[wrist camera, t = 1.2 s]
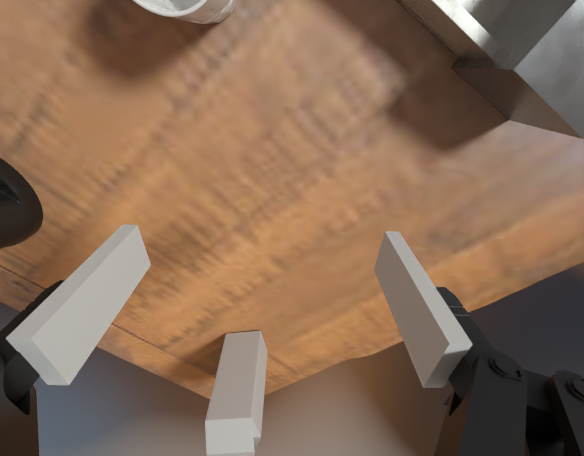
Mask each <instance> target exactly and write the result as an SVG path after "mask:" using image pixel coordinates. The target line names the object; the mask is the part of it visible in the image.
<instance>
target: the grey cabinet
mask: <svg viewBox="0 0 584 456" xmlns="http://www.w3.org/2000/svg"><path fill="white" fill-rule="evenodd" d="M397 1H398V2H399V3H400V4H401V5H402V6H403V7H404V8H405V9H406V10H407V11H409V12H410V13H411V14H412V15H413V16H414V17H415V18H416V19H417V20H418V21H419V22H420V23H422V24H423V25H424V26H425V27H426V28H427V29H428V30H429V31H430V32H431V33H432V34H433V35H435V36H436V37H437V38H438V39H439V40H440V41H441V42H442V43H443V44H444V45H445V46H446V47H447V48H449V49H450V50H451V51H452V52H453V53H454V54H455V55H456V56H457V57H458V58H459V59H458V61H457V62H456V63H455V64H454V66H453V67H452V69H453V70H454V71H455V72H457V73H458V74H459V75H460V76H461V77H462V78H463V79H464V80H465V81H467V82H468V83H469V84H470V85H471V86H472V87H473V88H474V89H476V90H477V91H478V92H479V93H480V94H481V95H482V96H483V97H484V98H486V99H487V100H488V101H489V102H490V103H491V104H492V105H493V106H494V107H496V108H497V109H498V110H499V111H500V112H501V113H502V114H503V115H504V116H506V117H507V118H508V119H509V120H511V121H515V122H519V123H523V124H527V125H531V126H535V127H538V128H542V129H546V130H550V131H554V132H558V133H562V134H566V135H570V136H574V137H577V138H581V139H584V0H397Z"/></svg>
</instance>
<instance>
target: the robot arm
mask: <svg viewBox="0 0 584 456" xmlns="http://www.w3.org/2000/svg"><path fill="white" fill-rule="evenodd" d="M42 221H43V211H42V206H41V203H40V201H39V199H38V197H37V195H36V193H35V191H34V190H33V188H32V187H31V186H30V184H29V183H28V182H27V181H26V180H25V179H24V177H23V176H22V175H21V174H20V173H19V172H18V171H16V170H15V169H14V168H13V167H12V166H11V165H9V164H8V163H7V162H5V161H4V160H3V159H1V158H0V249H1V248H4V247H8V246H12V245H16V244H18V243H21V242H23V241H24V240H26V239H27V238H29V237H30V236H32V235H33V234H35V233H36V232H37V231H38V230H39V228H40V227H41V225H42ZM150 266H151V264H150V261H149V258H148V255H147V252H146V249H145V246H144V243H143V240H142V237H141V234H140V231H139V228H138V225H122V226H121V227H120V228H119V229H118V230H116V231H115V232H114V233H113V234H112V235H111V236H110V237H109V238H108V239H107V240H106V241H105V242H104V243H103V244H102V245H101V246H100V247H99V248H98V249H97V250H96V251H95V252H94V253H93V254H92V255H91V256H90V257H89V258H88V259H87V260H86V261H85V262H84V263H83V264H82V265H80V266H79V267H78V268H77V269H76V270H75V271H74V272H73V273H72V274H71V275H70V276H69V277H68V278H67V279H66V280H60V281H58V282H57V283H55V284H53V285H52V286H50V287H49V288H47V289H45V290H44V291H43V292H42V293H41V294H40V295H39V296H38V297H37V298H36V299H35V301H34V302H31V303H30V304H29V305H28V306H27V307H26V309H25V310H23V311H22V312H21V313H20V314H19V315H17V317H15V318H14V319H13V320H12V321H11V322H10V323H9V324H8V325H7V326H6V327H5V328H4V329H2V330H1V331H0V456H39V442H38V420H37V398H36V390H35V388H34V386H33V384H34V383H35V381H36V380H37V379H38V378H39V376H40V377H41V378H42V379H43V380H44V381H45V382H46V383H47V385H69V384H70V383H71V382H72V380H73V379H74V377H75V376H76V374H77V373H78V371H79V370H80V368H81V367H82V366H83V364H84V363H85V361H86V360H87V358H88V356H89V355H90V354H91V352H92V350H93V349H94V348H95V346H96V345H97V344H98V342H99V341H100V339H101V338H102V336H103V335H104V333H105V332H106V330H107V329H108V327H109V326H110V324H111V323H112V322H113V320H114V319H115V317H116V316H117V314H118V313H119V311H120V310H121V308H122V307H123V305H124V304H125V302H126V301H127V300H128V298H129V297H130V295H131V294H132V292H133V291H134V289H135V288H136V286H137V285H138V283H139V282H140V280H141V279H142V278H143V276H144V275H145V273H146V272H147V270H148V269H149V267H150ZM374 271H375V273H376V275H377V278H378V280H379V283H380V285H381V287H382V290H383V292H384V295H385V297H386V300H387V302H388V304H389V307H390V309H391V312H392V314H393V316H394V319H395V321H396V324H397V326H398V328H399V331H400V333H401V336H402V338H403V340H404V343H405V345H406V348H407V350H408V352H409V355H410V357H411V360H412V362H413V365H414V367H415V369H416V372H417V374H418V376H419V379H420V381H421V384H422V386H423V388H443V387H444V385H445V384H446V382H447V381H448V380H449V381H450V383H451V385H452V387H453V388H454V390H453V392H452V393H451V394H450V396H449V397H448V398H447V400H446V401H445V403H444V404H445V405H446V406H447V405H448V407H447V410H446V414H445V418H444V421H443V425H442V428H441V432H440V436H439V439H438V443H437V446H436V450H435V454H434V456H584V377H582V376H580V375H578V374H576V373H573V372H569V371H565V370H561V371H557V372H555V374H553V375H552V376H551V377H548V376H544V375H541V374H538V373H534V372H531V371H528V370H524V369H522V368H521V366H520V365H519V364H517V363H516V362H515V361H514V360H513V359H512V358H510V357H509V356H507V355H505V354H504V353H501V352H499V351H496V350H494V348H493V347H492V346H491V345H490V343H489V342H488V340H487V339H486V337H485V336H484V335H483V333H482V332H481V330H480V329H479V328H478V326H477V325H476V323H475V322H474V321H473V319H472V318H471V317H469V314H468V312H467V311H466V310H465V308H463V305H462V304H461V303H460V301H459V300H458V298H457V297H456V296H455V295H454V294H453V293H451V292H450V291H449V290H448V289H447V288H445V287H435V286H434V284H433V283H432V281H431V280H430V278H429V277H428V275H427V274H426V272H425V271H424V269H423V268H422V266H421V265H420V263H419V262H418V260H417V259H416V257H415V255H414V254H413V252H412V251H411V249H410V248H409V246H408V245H407V243H406V242H405V240H404V239H403V237H402V236H401V234H400V233H399V232H391V231H385V233H384V236H383V240H382V244H381V247H380V251H379V255H378V258H377V262H376V265H375V269H374Z"/></svg>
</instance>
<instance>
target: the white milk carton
mask: <svg viewBox="0 0 584 456" xmlns="http://www.w3.org/2000/svg"><path fill="white" fill-rule="evenodd" d="M266 363H267V349H266V346H265V342H264V339H263V336H262V333H261V331H249V332H238V333H227V334H226V335H225V339H224V344H223V348H222V352H221V356H220V361H219V365H218V369H217V374H216V378H215V382H214V386H213V391H212V395H211V399H210V403H209V408H208V412H207V416H206V420H205V429H206V450H207V456H254V453H255V450H256V448H257V445H258V443H259V440H260V438H261V427H262V415H263V402H264V389H265V376H266Z"/></svg>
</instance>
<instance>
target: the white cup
mask: <svg viewBox="0 0 584 456" xmlns="http://www.w3.org/2000/svg"><path fill="white" fill-rule="evenodd" d="M133 1H134V2H135V3H137V4H138V5H140V6H141V7H143V8H144V9H146V10H148V11H150V12H153V13H155V14H158V15H162V16H166V17H170V18H174V19H178V20H182V21H186V22H192V23H201V24H212V23H220V22H221V21H222V20H224V19H225V18H226V17H227V16H229V15H230V14H231V13H232V12H233V9H234V7H235V5H236V3H237V0H133Z"/></svg>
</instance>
